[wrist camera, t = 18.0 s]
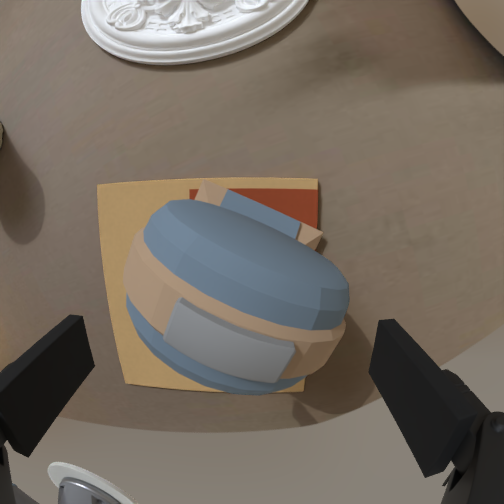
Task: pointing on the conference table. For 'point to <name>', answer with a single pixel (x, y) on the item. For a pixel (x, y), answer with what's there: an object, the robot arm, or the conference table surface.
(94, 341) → the conference table surface
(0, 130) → the flower pot
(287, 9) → the ceiling medallion
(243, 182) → the mat
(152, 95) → the conference table surface
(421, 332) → the conference table surface
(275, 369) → the alarm clock
